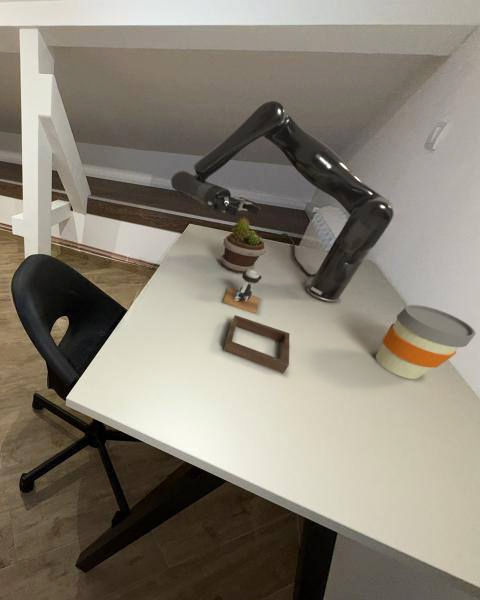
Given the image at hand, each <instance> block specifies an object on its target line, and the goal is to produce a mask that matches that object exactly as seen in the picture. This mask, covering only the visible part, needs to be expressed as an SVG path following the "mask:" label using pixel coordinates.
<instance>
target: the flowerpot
mask: <svg viewBox="0 0 480 600" xmlns="http://www.w3.org/2000/svg"><path fill="white" fill-rule="evenodd" d="M249 229H251V230H249ZM222 244H223V247H224V253H223V254H222V255H221V257H220V258H221V260H220V261H221V263H222V266H223V267H224V269H225V270H228V271H230V272H233V273H237V274H240V273H241V274H243V272H244V271H247V270H249V269H252V270H254V268H255V266H256V262H257V261H258V260H259V258H260V257H262V256H263V255H265V253H267V247H266V244H265V241H263V240H262V236H261V235H258V232H256V229H255V228H252V227H251V226H250V222H249V221H248V218H245V217H241V218H240V219H239V220H238V221H236V222H235V223H233V228H232V232H231V233H230V234H229V235H227V236H225V237H224V238H223V243H222Z"/></svg>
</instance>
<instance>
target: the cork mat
mask: <svg viewBox="0 0 480 600" xmlns="http://www.w3.org/2000/svg"><path fill="white" fill-rule="evenodd" d="M238 292H240V290H239V291H238V290H236V289H232V288H229V287H228V288H227V289H226V292H225V295H224V297H223V300H222V303H223V304H226V305H229V306H232V307H235V308H239V309H240V310H245V311H247V312H250V313H253V314H257V313H258V307H259V301H260V297H258V296H255V295H252V294H251V296H250V298H249V299H248V300H247V301H245V300H243V301H241V302H239V301H235V297H236V296H237V293H238Z"/></svg>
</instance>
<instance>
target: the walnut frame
mask: <svg viewBox="0 0 480 600" xmlns="http://www.w3.org/2000/svg"><path fill="white" fill-rule="evenodd" d="M236 327H237V328H239V329H241V330H244V331H247V332H249V333H250V332H251V333H253V334H256V335H259V336H262V337H265V338H268V339H270V340H273V341H276V342H279V343H280V348H279V357H276V356H272V355H270V354H268V353H265V352H261V351H259V350H256V349H253V348H251V347H248V346H245V345H242V344H239V343H237V342H235V341H233V339H234V335H235V331H236ZM223 352H226V353H228V354H231V355H233V356H237V357H239V358H241V359H243V360H246V361H249V362H252V363H255V364H257V365H260V366H262V367H264V368H268V369H270V370H273V371H275V372H278V373H280V374H285V372H286V371H287V369H288V367H290V333H289V332H287V331H284V330H281V329H278V328H275V327H272V326H270V325H266V324H264V323H260V322H257V321H255V320H251V319H248V318H245V317H242V316H239V315H236V314H234V316H233V318H232V320H231V322H230V325H229V330H228V332H227V336H226V340H225V344H224V347H223Z"/></svg>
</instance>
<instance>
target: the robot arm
mask: <svg viewBox="0 0 480 600" xmlns="http://www.w3.org/2000/svg"><path fill="white" fill-rule="evenodd" d="M262 137H264V138H265V139H267V140H268V142H270V143H272V144H273V145H274V146H275V147H277V148H278V149H279V150H280V151H281V152H282V153H283V154H284V156H285V157H286V158H287V160H288V161H289V163H290V164H291V165H292V166H293V168H294V169H295V170H296V171H297V172H298V173H299V174H300V175H301V176H302V177H303V178H304V179H305V180H306V181H307V182H308V183H310V184H311V185H312V186H313V187H315V188H317V189H318V190H320V191H322V192H324V193H325V194H327V195H329V196H331V197H332V198H333V199H335V200H336V202H338V203H339V204H340V205H341V206H342V207H343V209H344V210H345V211H346V212H347V213H348V214H349V217H348V218H347V220H346V222H345V224H344V225H343V227H342V229H341V230H340V232H339V234H338V235H337V236H336V238H335V240H334V242H333V244H332V245H331V247H330V249H329V251H328V252H327V254H326V256H325V257H324V259H323V261H322V263H321V264H320V266H319V268H318V270H316V272H315V273H313V274H311V273H309V272H308V271H307V270H306V269H305V268H304V266H303V265H302V264H301V262H299V260H298V259H297V256H296V245H295V242H294V240H293V239H292V238H291V236H290V235H289V234H288V233H285V232H284V233H282V234H280V236H286V237H287V238H288V239H289V241H290V242H291V245H292V257H293V259H294V261H295V263H296V265H298V266H299V268H300V269H301V270H302V272H303V273H304V274H305V275H306V276H307V277H310V278H312V280H311V282H310V283H309V285H308V286H307V288H306V292H307V294H308V295H310V296H311V297H314V298H315V299H317V300H319V301H323V302H327V303H337V302H338V301H339V300H340V297H341V296H342V294H343V293H344V291H345V290H346V289H347V287H348V285H349V283H350V282H351V280H352V279H353V277H354V276H355V274H356V273H357V272H358V270H359V269H360V267H361V265H362V264H363V262H364V261H365V259H366V258H367V256H368V255H369V254H370V251H372V249H374V247H375V246H376V245H377V243H378V241H379V240H380V238H381V237H382V236H383V234H384V233H385V231H386V230H387V229H388V227H389V226H390V224H391V222H392V220H393V217H394V205H393V204H392V202H391V201H390V200H389V199H387V198H386V197H384V196H383V195H381V194H380V193H378V192H377V191H376V190H374V189H373V188H371V187H370V186H368V185H367V184H366V183H365V182H363V181H362V180H361V179H360V178H359V177H358V176H357V174H356V173H355V172H354V171H353V170H352V168H351V167H350V166H349V165H348V164H347V163H346V162H345V161H344V160H343V159H342V158H341V157H340V156H339V155H338V154H337V153H336V152H335V151H334V150H333V149H331V148H330V146H328V145H327V144H325V142H322V141H321V139H318V138H317V137H316V136H314V135H312V134H310V133H308V132H307V131H306V130H304V129H302V127H301V126H300V125H298V123H297V122H296V121H295V120H294V119H293V117H292V116H291V115H290V114H289V113H288V111H287V109H286V107H285V106H284V105H283V104H282V102H280V101H278V100H269V101H266V102H263V103H262V104H260V105H259V106H258V107H257V108H256V109H255V110H254V111H253V112H252V113H251V114H250V115H249V116H248V118H247V119H245V121H244V122H243V123H242V124H241V125H240V126H239V127H237V129H235V130H234V131H233V132H232V133H231V134H230V135H229V136H227V137H226V138H225V139H224V140H223V141H222V142H220V143H219V144H218V145H216V146H215V147H213V148H212V149H211V150H210V151H209V152H207V153H206V154H205V155H203V156H202V157H201V158H200V159H198V160H197V161H196V162H195V163H194V165H193V170H194V172H195V174H194V175H193V174H192V173H190V172H188V171H186V170H179V171H177V172H175V173H173V175H172V176H171V179H170V185H171V187H172V188H173V189H174V190H175V191H176V192H177V193H178V194H180V195H181V196H183V197H189V198H190V199H192V200H193V201H196V202H198V203H199V204H201V205H202V206H204V207H205V208H208V209H210V210H212V211H214V212H217V213H220V212H222V213H227V214H229V215H231V216H234V217H235V216H237V215H238V213H239V212H240V211H246V212H248V213H251V214H253V215H259V213H260V211H261V207H260V206H258V205H255V204H256V201H253V200H250V199H248V198H244V197H242V196H240V197H236V196H233V195H232V194H231V191H230V189H228V188H226V187H223V186H220V185H218V184H215V183H212V182H209V181H206V180H207V179H208V178H209V177H211V176H212V175H213V174H215V173H217V172H218V171H219V170H220V169H221V168H223V167H224V166H226V164H227V163H228V162H229V161H231V160H232V159H233V158H234V157H235V156H236V155H237V154H238V153H240V152H241V151H242V150H243V149H245V148H246V147H248V145H250V144H252V143H253V142H255V141H257V140H258V139H260V138H262Z"/></svg>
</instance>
